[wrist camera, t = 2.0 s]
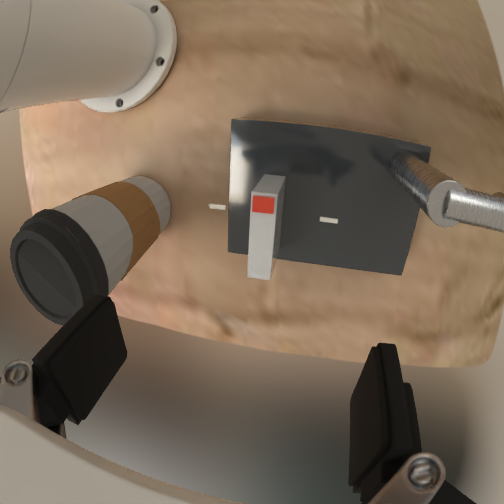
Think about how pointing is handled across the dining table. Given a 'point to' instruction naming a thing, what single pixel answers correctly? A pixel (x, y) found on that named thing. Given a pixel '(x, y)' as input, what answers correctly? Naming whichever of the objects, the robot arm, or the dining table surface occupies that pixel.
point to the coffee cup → (87, 244)
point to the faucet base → (325, 192)
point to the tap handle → (265, 226)
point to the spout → (446, 195)
